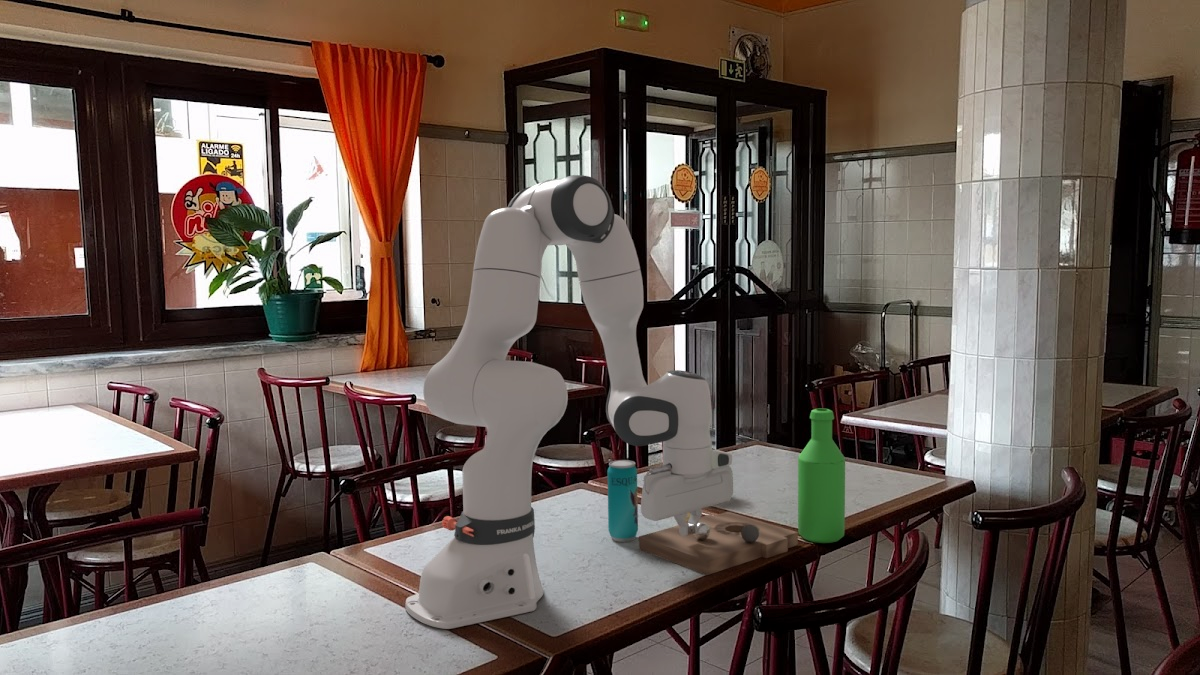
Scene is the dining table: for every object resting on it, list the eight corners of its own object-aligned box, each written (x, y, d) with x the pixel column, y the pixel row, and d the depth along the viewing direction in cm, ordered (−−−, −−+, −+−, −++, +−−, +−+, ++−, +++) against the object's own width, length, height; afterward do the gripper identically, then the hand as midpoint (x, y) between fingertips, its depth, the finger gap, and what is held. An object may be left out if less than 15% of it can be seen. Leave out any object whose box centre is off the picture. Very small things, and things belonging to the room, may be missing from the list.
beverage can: (635, 543, 176) (634, 467, 174) (606, 542, 177) (604, 466, 175) (640, 534, 181) (639, 459, 180) (611, 533, 182) (610, 459, 181)
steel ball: (701, 543, 167) (701, 526, 167) (689, 539, 170) (689, 522, 170) (713, 539, 169) (713, 522, 169) (701, 535, 172) (701, 518, 172)
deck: (711, 576, 157) (711, 562, 157) (635, 548, 173) (635, 535, 173) (801, 546, 172) (801, 533, 172) (724, 522, 188) (724, 510, 188)
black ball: (750, 546, 165) (750, 528, 165) (737, 541, 168) (737, 524, 168) (762, 542, 167) (762, 525, 167) (749, 538, 170) (749, 521, 170)
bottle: (852, 536, 178) (854, 409, 175) (830, 547, 171) (831, 415, 169) (812, 527, 184) (813, 404, 181) (789, 538, 177) (789, 410, 175)
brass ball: (684, 531, 174) (684, 515, 174) (673, 527, 177) (673, 511, 177) (696, 528, 176) (696, 511, 176) (685, 524, 179) (685, 508, 179)
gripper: (656, 472, 157) (657, 551, 159) (738, 453, 170) (739, 526, 171) (632, 466, 162) (633, 542, 163) (714, 448, 175) (714, 519, 176)
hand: (688, 534), depth 167 cm, fingers closed
